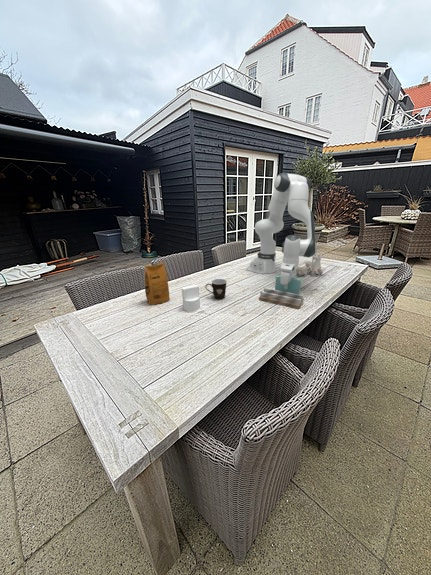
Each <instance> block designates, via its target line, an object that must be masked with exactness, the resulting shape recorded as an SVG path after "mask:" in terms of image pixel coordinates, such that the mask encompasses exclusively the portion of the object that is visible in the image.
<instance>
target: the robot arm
mask: <svg viewBox="0 0 431 575" xmlns="http://www.w3.org/2000/svg"><path fill="white" fill-rule="evenodd" d="M311 186H312V181H311V179H310V178H309V177H307V176H302V175H300V174H297V173H287V172H281V173H279V174H277V176H276V177H275V179H274V188H275V189H274V191H273V193H272V195H271V198H270V201H269V204H268V207H267V210H268V212H269V215H268V218H263V219H260V220H258V221H257V222H256V223H255V224H254V231H255V233H256V234H257V235H258V237H259V240H260V246H259V247H260V251H259V252H258V253H257V254H256V255H257V256H256V257H255V258H254V259H253V260H251V261H250V263H249V266H247V267H246V271H248V272H251V273H252V272H253V273H257V274H261V275H263V274H264V275H265V274H273V273H276V272H277V269H276V259H277V258H276V257H277V256H276V247H277V246H276V245H277V243H276V240H274V237H273V234H276V233H279V232H280V231H282V230H283V228H284V225H285V223H284V221H283V217H284V213H285V211H286V207H287V212H288V214H289V216H291V217H292V218H294V219H296V220H299V221H301V222H303V223H304V224H305V225H306V231H307V235H306V236H307V237H306V238H307V239H301V237H300V236H299V235H297V234H290V235H286V237H285V240H284V241H283V242H282V247H281V252H282V254H283V257H282V262H281V266H280V267H279V270H280V276H281V278H280V282H281V284H282V285H284V289H286V290H287V289H288V283H289V282H290V281H291V279H292V278H295V277H296V276H297V272H296V269H298V267H299V264H300V262H299V261H300V258H299V257H303V258H312V256H313V255H315V254H316V253H317V242H316V234H315V233H316V232H315V218H314V217H315V216H314V212H313V211H312V210H311V209H310V206H309V195H310V192H309V191H310V189H311Z"/></svg>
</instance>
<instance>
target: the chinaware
mask: <svg viewBox="0 0 431 575" xmlns="http://www.w3.org/2000/svg"><path fill="white" fill-rule="evenodd" d="M311 259H312V260H311V261H305V262H304V264H305V267H304V266H301V267H299V266H298V269H296V275H298V277H303V276H305V275H306V273H308V275H309V276H312V277H320V276H321V274H323V273H324V272H323V271H324V270H323V269H322V267H321V266H322V265H321V259H322V256H321V254H319V253H318V252H316V253H315V254H314V255H313V256H311Z"/></svg>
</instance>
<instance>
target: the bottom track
mask: <svg viewBox="0 0 431 575" xmlns="http://www.w3.org/2000/svg"><path fill="white" fill-rule="evenodd" d="M258 301H261V302H265V303H268V304H274V305H278V306H284V307H287V308H291V309H295V310H300V308H301V306H302V305H303V303H304V301H305V300H304V295H303V294H302V295H301V294H300V295H298V294H293V293H288V292H283V291H278V290H275V289H272V288H267V287H264V288H263V291H262V290H261V291H260V293H259V296H258Z"/></svg>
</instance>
